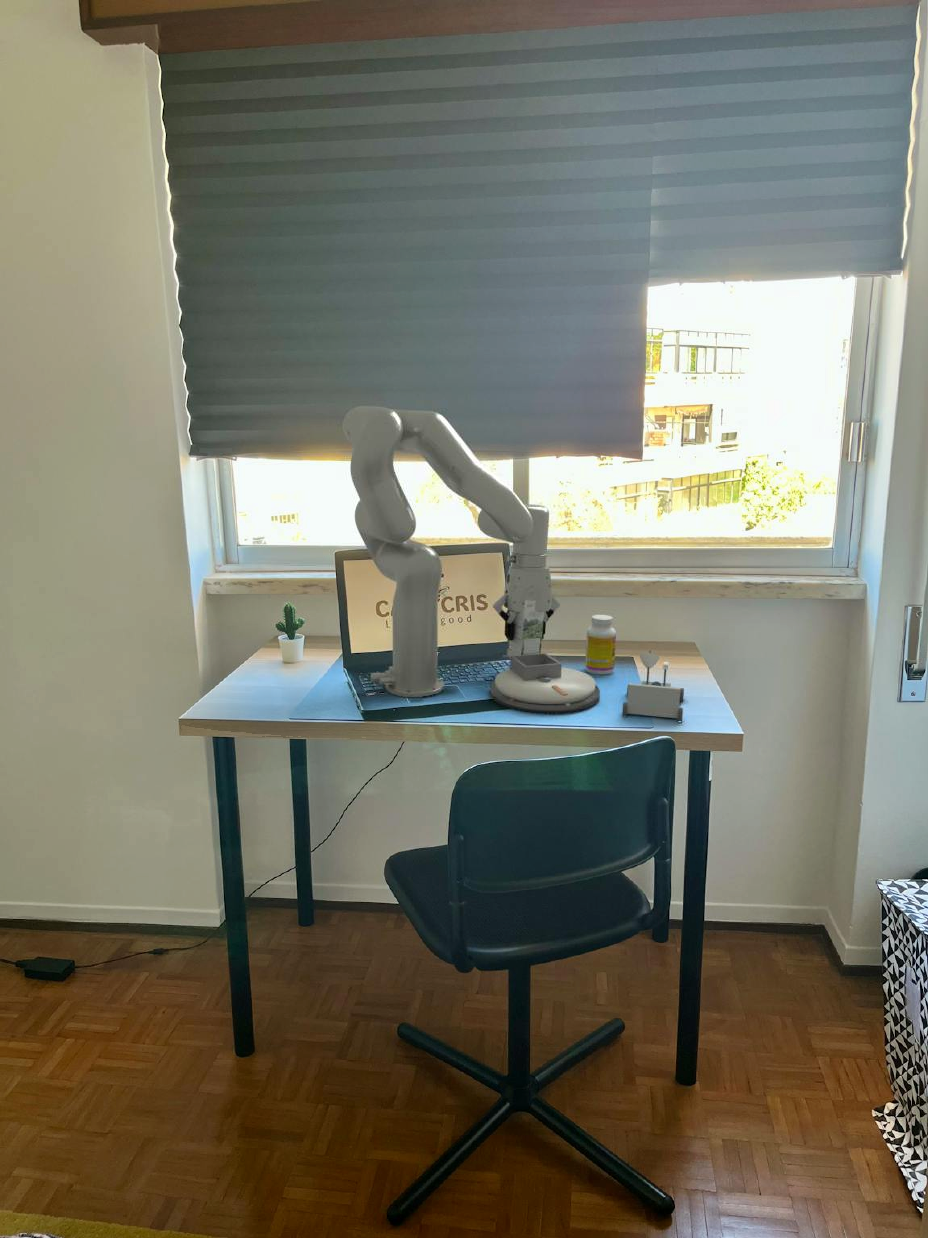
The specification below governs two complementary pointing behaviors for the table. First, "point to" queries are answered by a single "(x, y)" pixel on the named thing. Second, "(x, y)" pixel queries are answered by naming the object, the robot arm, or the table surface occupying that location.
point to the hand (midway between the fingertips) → (524, 637)
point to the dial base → (545, 708)
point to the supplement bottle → (600, 646)
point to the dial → (543, 681)
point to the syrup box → (526, 631)
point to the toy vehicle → (653, 694)
